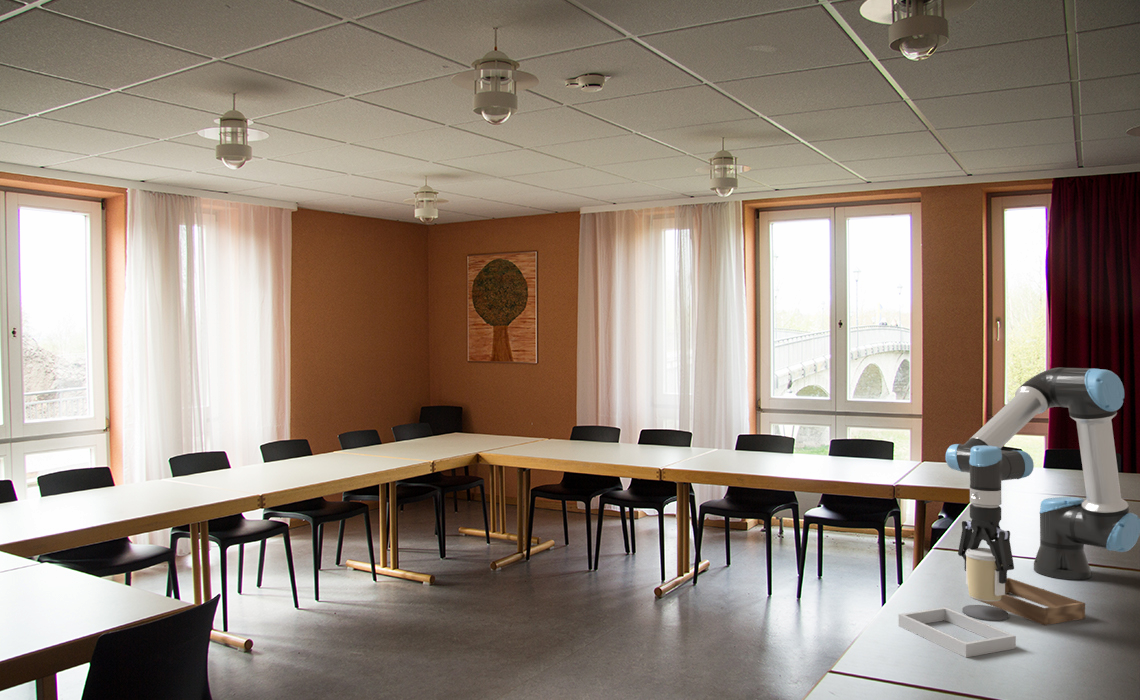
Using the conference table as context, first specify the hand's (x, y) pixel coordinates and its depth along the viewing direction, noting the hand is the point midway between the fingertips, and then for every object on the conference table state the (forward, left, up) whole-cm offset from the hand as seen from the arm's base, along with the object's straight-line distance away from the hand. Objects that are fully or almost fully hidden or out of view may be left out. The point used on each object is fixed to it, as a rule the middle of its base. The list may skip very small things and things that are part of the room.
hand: (985, 589), depth 221 cm
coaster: (0, 0, -7) cm, 7 cm away
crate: (-14, 0, -7) cm, 15 cm away
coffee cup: (0, 0, -2) cm, 2 cm away
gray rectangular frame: (+20, +10, -7) cm, 23 cm away
